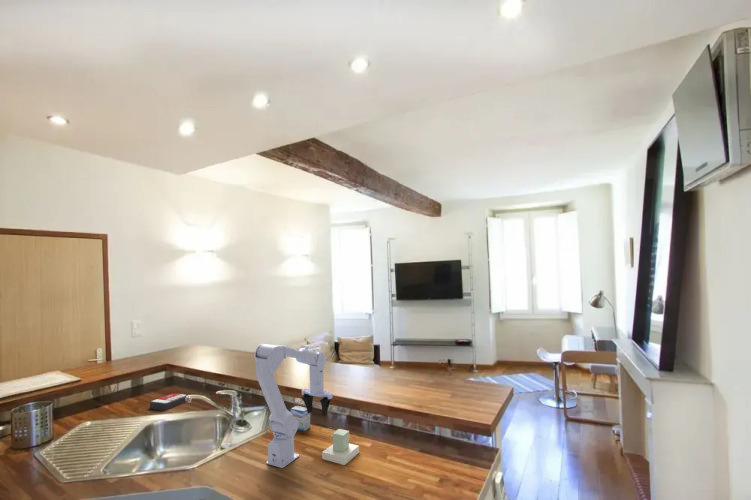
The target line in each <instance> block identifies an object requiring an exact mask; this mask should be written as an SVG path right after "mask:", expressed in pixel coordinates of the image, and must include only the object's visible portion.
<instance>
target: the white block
mask: <svg viewBox="0 0 751 500" xmlns="http://www.w3.org/2000/svg"><path fill="white" fill-rule="evenodd" d="M359 453H360V445H357V444H353V443H350V442H349V448H347V449H346V450H345V451H344V452H340V451H335V450H333V443H332V444H331V445H330V446H328V447H327V448H325V449H324V450H323V451H322V452H321V457H322V460H324V461H327V462H328V461H329V462H333V463H336V464H338V465H342V466H345V465H347V464H348V463H349V462H350V461H351V460H352V459H354V458H355V457H356V456H357V455H358V454H359Z"/></svg>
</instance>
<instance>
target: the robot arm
mask: <svg viewBox="0 0 751 500" xmlns="http://www.w3.org/2000/svg"><path fill="white" fill-rule="evenodd" d="M287 357H290V358H295V359H296V362H298V363H300V364H305V365H308V366H309V368H308V370H309V388H302V390H301V395H303V396H302V397H301V400H302V401H303V402H304V405H305V408H307V412H308V413H310V414H311V413H312V412H313V400H314V397H317V398H321V399H320V401H319V402H320V405H321V413H322V417H326V416H327V415H328V409H329V408H330V407H329V406H330V404H331V401H332V399H333V393H332V392H330V391H327V390H325V387H324V385H325V384H324V370H325V365H326V361H327V357H326V356H325V354H324V353H323V352H320V351H319V352H318V351H316V349H309V347H307V346H304V347H300V348H299V349H298V348H297V349H296V348H293V347H291V346H288V345H282V344H272V343H271V344H270V343H269V344H268V343H267V344H266V343H260V344H259V345H258V346H257V348H256V349H255V351H254V354H253V358H254V360H255V375H256V380H257V381H258V385H259V386H260V389H261V391H262V393H263V397H264V399H265V402H266V403H267V406H268V409H269V412H270V414H269V417H268V420H269V429H270V431H271V432H272V435H273V439H271V441H269V443H268V446H267V461H265V462H266V464H267V465H271V466H274V467H278V468H280V469H283V468H285V467H287V465H289V464H290V463H292V462H293V461H294V460H297V458H299V457H300V454H298V453H295V436H296V433H297V431H298V430H297V429H298V421H297V419H295V418H294V417H293V414H292V413H291V411H289V409H287V407H286V404H285V402H284V399H283V396H282V394H281V391H280V389H279V386H278V383H277V381H276V379H275V375H274V374H275V373H276V371H277V370H278V368H279V367H280V365H281V364H282V363H283V360H284V359H286V358H287Z"/></svg>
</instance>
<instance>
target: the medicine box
mask: <svg viewBox="0 0 751 500" xmlns="http://www.w3.org/2000/svg"><path fill="white" fill-rule="evenodd" d="M290 412H291V413H292V414H293V417H294V418H295V419H297V421H298V429H297V431H303V432H305V431H307V430H309V429H310V428H311V413H308V412H307V408H306V406H305V407H304V406H298V405H295V406H292V407H291V408H290Z"/></svg>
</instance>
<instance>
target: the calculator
mask: <svg viewBox="0 0 751 500" xmlns="http://www.w3.org/2000/svg"><path fill="white" fill-rule="evenodd" d="M186 396H188V395H187V394H182V393H181V394H180V393H171V394H168V395H165V396H161V397H158V399H154V400H151V401H149V410H157V411H168V410H170V409H173V408H174V407H176V406H179V405H181V404H183V403H186V402H185V397H186Z"/></svg>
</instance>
